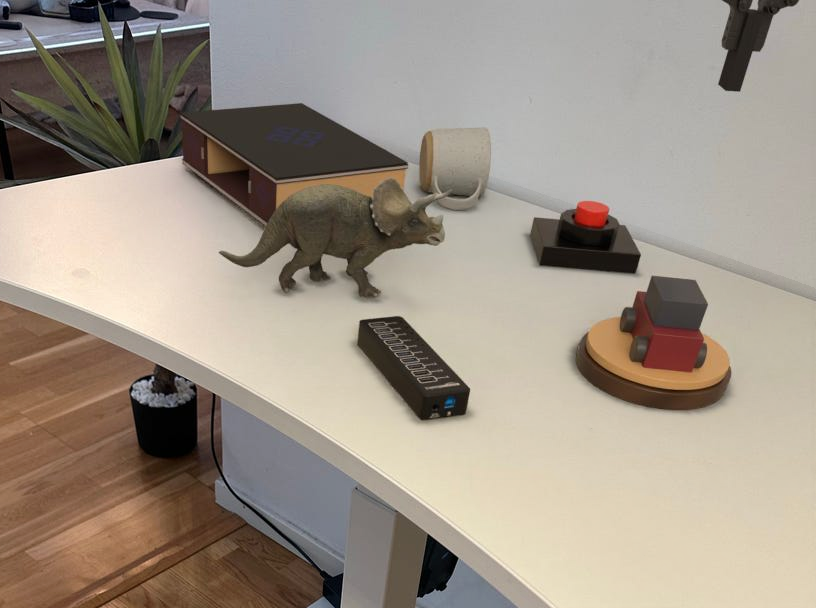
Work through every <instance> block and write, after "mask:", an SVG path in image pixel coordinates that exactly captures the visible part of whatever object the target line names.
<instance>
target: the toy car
mask: <svg viewBox="0 0 816 608" xmlns="http://www.w3.org/2000/svg"><path fill="white" fill-rule="evenodd" d="M650 276H651V277H650V280H649V283H648V286H647V289H646V291H641V290H637V291H636V294H635V298H634V300H633V304H632V306H625V307H623V310H622V312H621V315H620V316H614V317H609V318H605V319H603V320H600V321H598V322H596V323H595V324H593V325H592V327H590V328H589V330H588V331H589V332H588V331H587V332H588V335H587V339H586V348H587V351H588V353H589V354H590V356H591V357H592V358H593V359H594V360H595V361H596V362H597V363H598V364H599V365H601V366H602V367H604V368H605V369H607V370H608V371H610V372H612V373H614V374H616V375H618V376H620V377H623V378H625V379H628V380H630V381H633V382H637V383H640V384H644V385H647V386H652V387H657V388H664V389H673V390H694V389H701V388H706V387H710V386H712V385H715V384H717V383H718V382H720V381H721V380H722V379H723V378H724V377H725V375H726V373H727V371H728V368H729V365H730V366H731V361H730V357H729V356H730V355H729V354H728V352H727V351H726V349H725V348H724V347H723V346H722V345H721V344H720V343H718V342H717V341H716V340H714V339H713V338H712V337H710V336H708V335H707V334H705V333H703V332H702V331H701V329H700V328H701V326H702V323H703V320H704V317H705V315H706V311H707V309H708V307H709V303H708V300H707V299H706V297H705V295H704V293H703V291H702V289H701V287H700V286H699V284H698V282H697V280H696V279H689V278H679V277H669V276H663V275H662V276H660V275H650Z"/></svg>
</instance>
